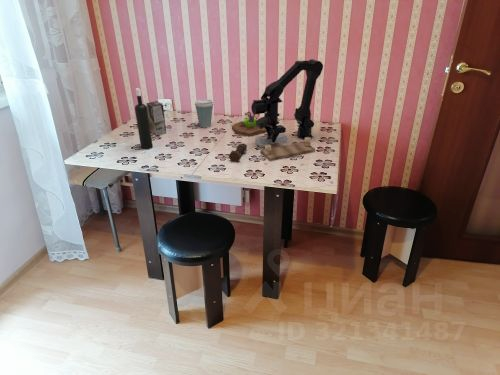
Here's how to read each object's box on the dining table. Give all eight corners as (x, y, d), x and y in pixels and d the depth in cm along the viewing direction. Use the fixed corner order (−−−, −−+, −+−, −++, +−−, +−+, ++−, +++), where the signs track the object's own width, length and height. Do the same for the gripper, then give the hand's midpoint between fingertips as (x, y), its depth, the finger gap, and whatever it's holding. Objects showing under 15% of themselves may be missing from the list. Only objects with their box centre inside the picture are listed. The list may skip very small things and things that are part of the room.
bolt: (245, 153, 187) (235, 164, 175) (237, 147, 187) (227, 158, 175) (251, 144, 184) (241, 155, 172) (242, 138, 184) (232, 149, 171)
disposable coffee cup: (192, 126, 215) (190, 101, 208) (204, 121, 223) (202, 96, 216) (206, 130, 210) (204, 104, 203) (218, 124, 218) (217, 99, 210)
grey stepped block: (282, 138, 199) (282, 132, 198) (287, 142, 194) (288, 136, 193) (255, 143, 193) (255, 137, 192) (260, 147, 189) (260, 141, 187)
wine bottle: (146, 144, 193) (137, 86, 178) (155, 146, 191) (146, 87, 176) (138, 148, 189) (128, 89, 174) (147, 150, 187) (138, 90, 172)
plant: (225, 130, 211) (224, 110, 206) (250, 121, 223) (250, 103, 218) (250, 139, 199) (249, 119, 193) (275, 130, 211) (275, 110, 205)
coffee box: (167, 133, 207) (163, 104, 199) (156, 135, 204) (152, 106, 196) (160, 128, 213) (156, 100, 205) (149, 130, 210) (145, 102, 202)
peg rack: (304, 144, 191) (304, 134, 189) (315, 151, 183) (315, 141, 181) (260, 153, 182) (260, 142, 180) (269, 161, 174) (269, 150, 172)
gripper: (249, 108, 190) (250, 137, 198) (266, 119, 175) (265, 150, 183) (269, 105, 194) (268, 133, 202) (286, 116, 179) (285, 146, 187)
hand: (271, 140), depth 193 cm, fingers closed on grey stepped block, 4 cm apart
